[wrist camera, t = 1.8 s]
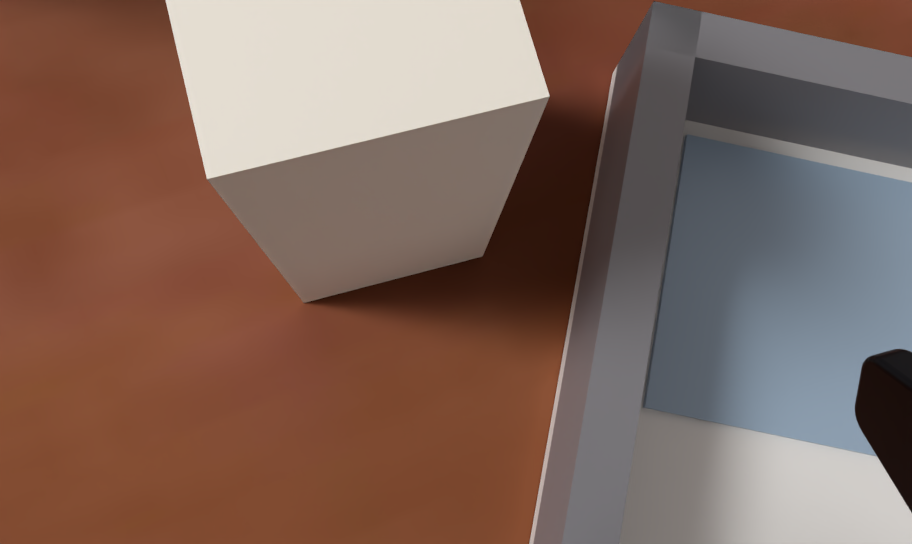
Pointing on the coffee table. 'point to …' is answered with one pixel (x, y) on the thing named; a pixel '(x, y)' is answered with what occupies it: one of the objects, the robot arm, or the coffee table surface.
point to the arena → (735, 293)
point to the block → (361, 127)
